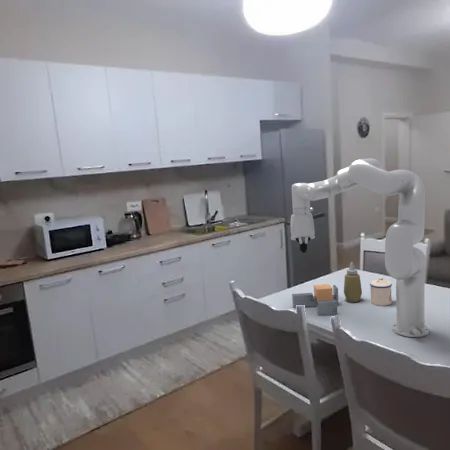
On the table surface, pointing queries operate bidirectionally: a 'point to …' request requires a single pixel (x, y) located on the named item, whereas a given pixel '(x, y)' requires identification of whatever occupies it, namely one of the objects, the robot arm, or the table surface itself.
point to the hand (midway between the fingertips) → (303, 251)
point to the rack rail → (310, 298)
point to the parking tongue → (327, 307)
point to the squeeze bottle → (352, 284)
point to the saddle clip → (323, 292)
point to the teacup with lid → (381, 292)
